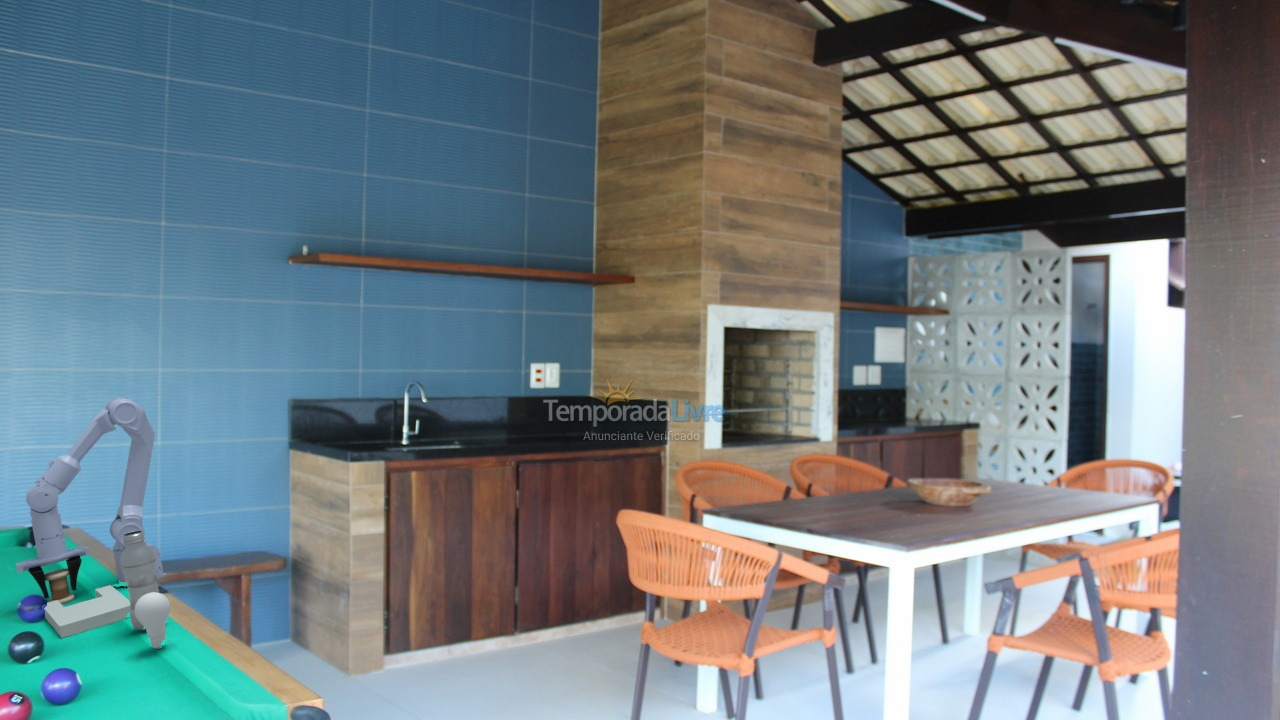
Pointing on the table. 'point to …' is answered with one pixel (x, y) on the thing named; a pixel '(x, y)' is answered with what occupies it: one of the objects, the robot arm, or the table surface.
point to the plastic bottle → (138, 570)
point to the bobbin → (59, 586)
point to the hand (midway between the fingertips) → (60, 593)
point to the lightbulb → (153, 616)
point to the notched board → (88, 612)
